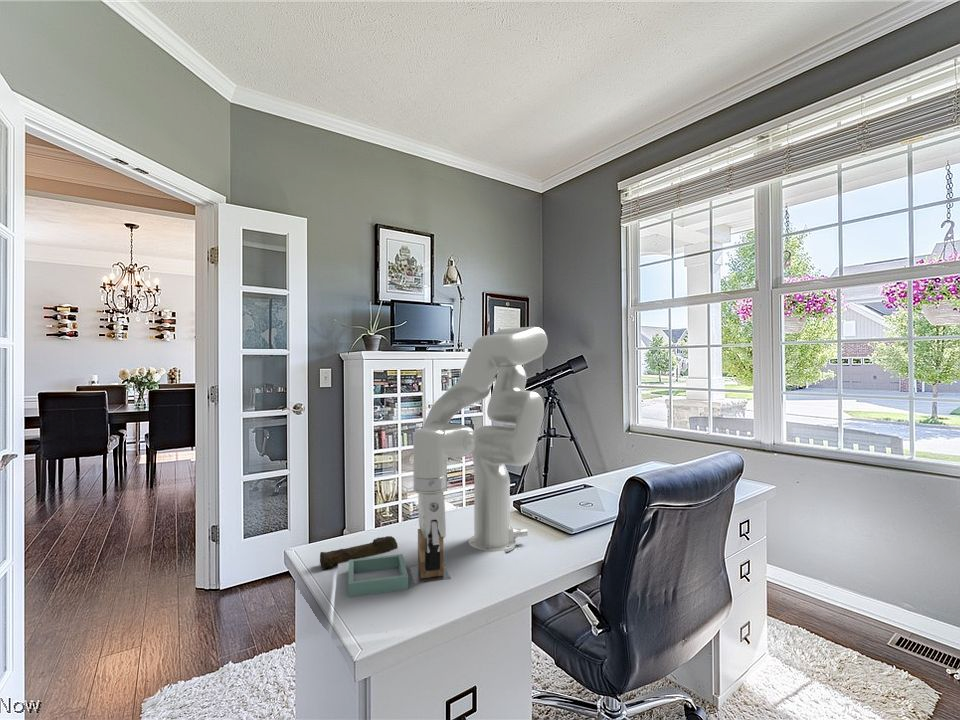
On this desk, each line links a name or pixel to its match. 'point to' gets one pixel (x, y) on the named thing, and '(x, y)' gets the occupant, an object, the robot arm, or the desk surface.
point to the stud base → (418, 579)
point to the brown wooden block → (421, 557)
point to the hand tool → (357, 552)
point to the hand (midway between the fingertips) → (430, 563)
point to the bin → (378, 583)
